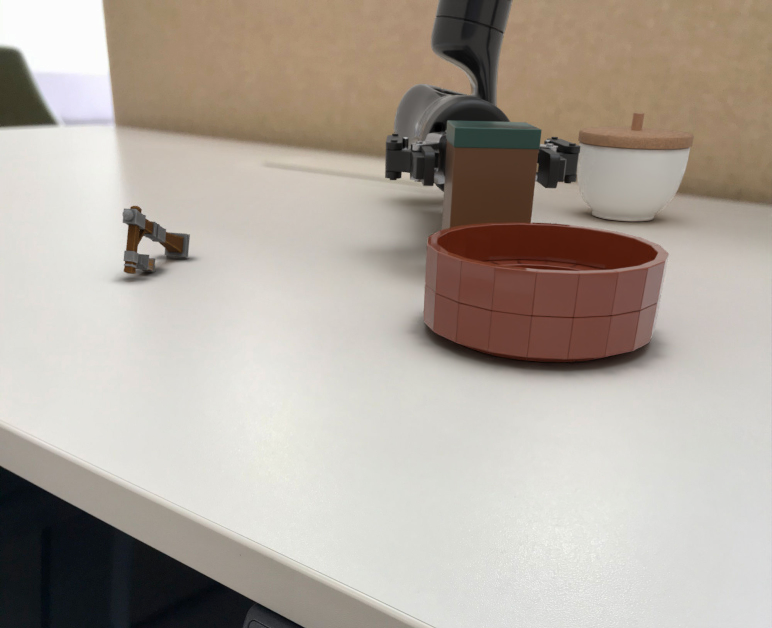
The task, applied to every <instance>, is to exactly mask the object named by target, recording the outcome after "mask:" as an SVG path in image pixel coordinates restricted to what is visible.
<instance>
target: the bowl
mask: <svg viewBox="0 0 772 628" xmlns="http://www.w3.org/2000/svg"><path fill="white" fill-rule="evenodd" d="M425 255H426V256H425V273H424V275H425V276H424V277H425V278H424V294H423V295H424V298H423V318H422V319H423V320H422V321H423V322H424V324H425V325H426V326H427V327H428V328H429V329H430V330H431V331H432V332H433V333H435V334H436V335H438V336H440V337H443V338H445V339H446V340H448V341H451V342H453V343H456V344H459V345H461V346H463V347H465V348H466V349H467V348H468V349H470V350H473V351H476V352H479V353H483V354H487V355H490V356H493V357H494V356H495V357H499V358H505V359H511V360H518V361H526V362H537V363H577V362H586V361H593V360H599V359H604V358H608V357H611V356H615V355H616V356H617V355H622V354H627V353H630V352H634V351H636V350H638V349H640V348H642V347H644V346H646V345H648V344H649V343H650V342H651V340H652V338H653V335H654V333H655V330H656V324H657V320H658V315H659V314H658V313H659V310H660V309H659V308H660V304H661V299H662V293H663V289H664V283H665V277H666V273H667V267H668V262H669V257H670V254H669V252H668V251H667V250H666V249H665V248H664V247H663V246H661V244H658V243H655V242H654V241H650V240H648V239H646V238H643V237H640V236H637V235H633V234H628V233H624V232H619V231H616V230H611V229H604V228H597V227H590V226H584V225H576V224H575V225H574V224H565V223H564V224H563V223H555V222H554V223H552V222H531V223H530V222H499V223H481V224H471V225H462V226H456V227H452V228H447V229H443V230H442V229H440V230H437V231H436V232H434V233H432V234H431V235H428V237H427V241H426V254H425Z"/></svg>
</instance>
